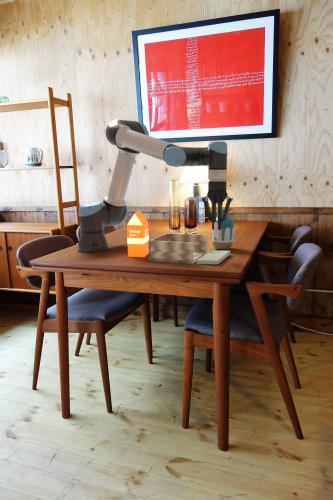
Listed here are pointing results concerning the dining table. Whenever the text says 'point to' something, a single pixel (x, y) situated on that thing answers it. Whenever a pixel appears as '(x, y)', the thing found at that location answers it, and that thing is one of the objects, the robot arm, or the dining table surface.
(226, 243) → the vase
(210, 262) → the panel
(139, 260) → the dining table surface
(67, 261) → the dining table surface
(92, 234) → the robot arm
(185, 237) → the crate
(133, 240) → the orange juice
